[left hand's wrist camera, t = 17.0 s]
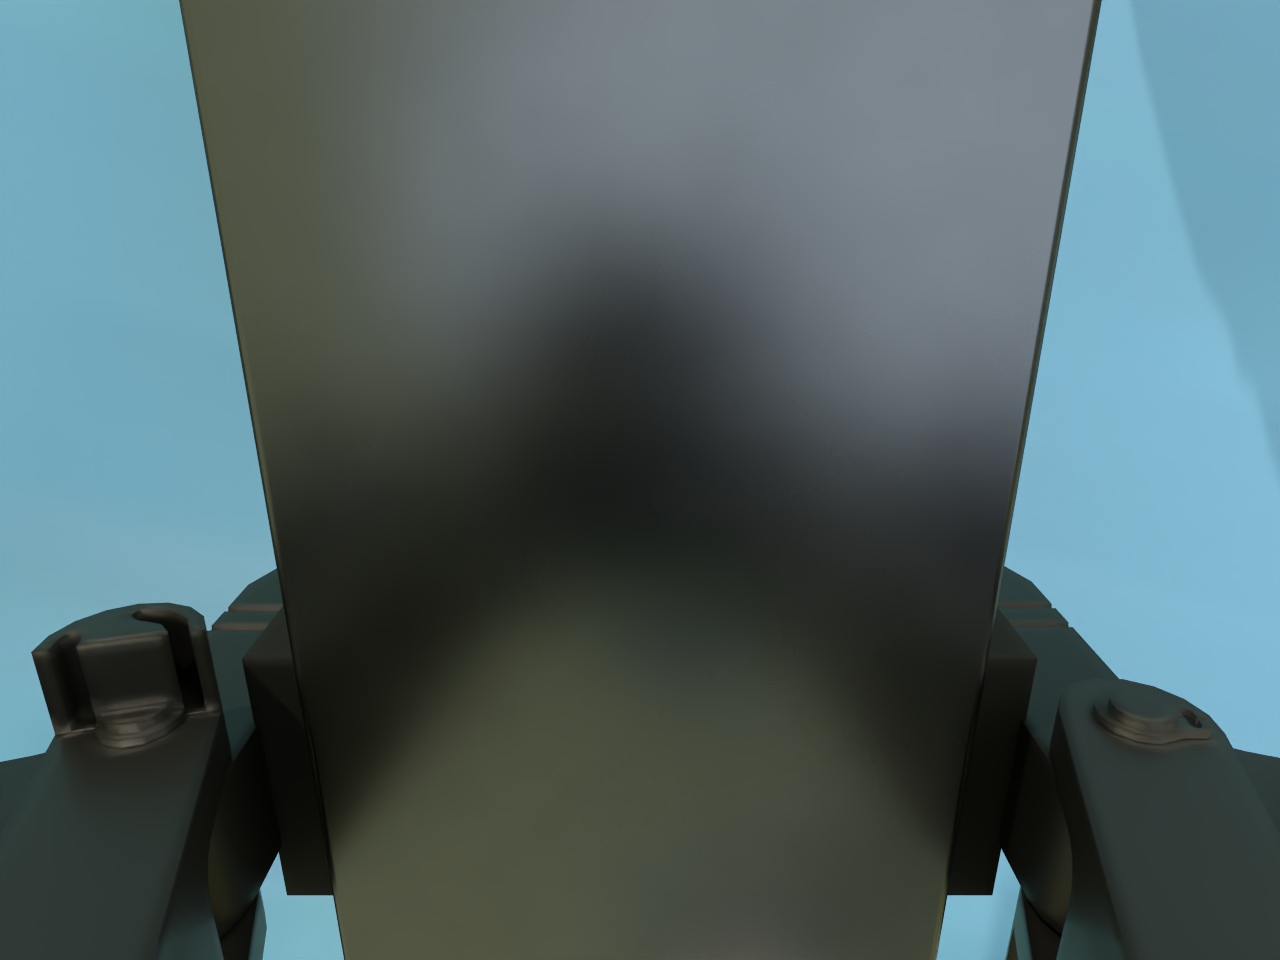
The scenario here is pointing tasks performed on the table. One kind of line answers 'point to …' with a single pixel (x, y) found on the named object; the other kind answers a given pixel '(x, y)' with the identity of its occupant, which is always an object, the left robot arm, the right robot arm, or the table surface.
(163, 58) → the table surface
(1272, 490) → the table surface
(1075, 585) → the table surface
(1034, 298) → the bar
